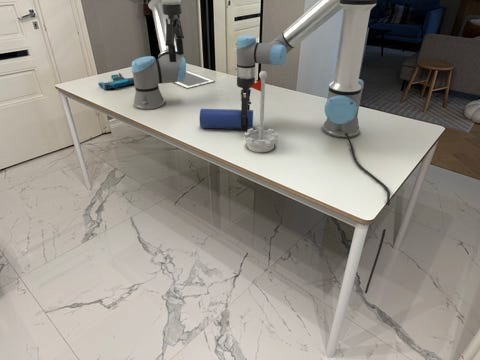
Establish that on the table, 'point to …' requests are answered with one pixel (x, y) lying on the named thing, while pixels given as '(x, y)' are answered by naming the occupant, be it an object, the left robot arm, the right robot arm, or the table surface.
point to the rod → (223, 118)
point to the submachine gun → (116, 82)
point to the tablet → (193, 80)
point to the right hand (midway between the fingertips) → (245, 124)
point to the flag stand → (261, 124)
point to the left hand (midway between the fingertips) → (177, 57)
